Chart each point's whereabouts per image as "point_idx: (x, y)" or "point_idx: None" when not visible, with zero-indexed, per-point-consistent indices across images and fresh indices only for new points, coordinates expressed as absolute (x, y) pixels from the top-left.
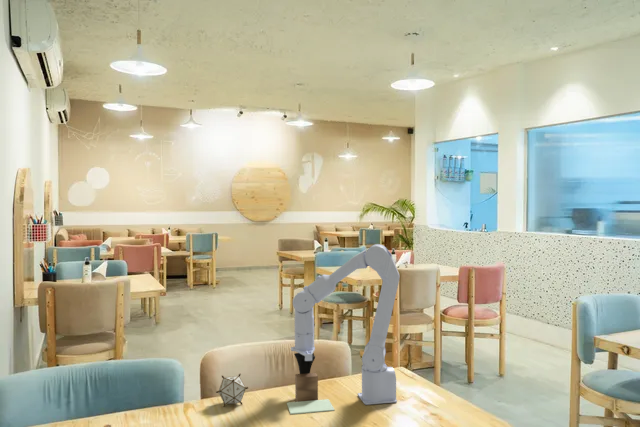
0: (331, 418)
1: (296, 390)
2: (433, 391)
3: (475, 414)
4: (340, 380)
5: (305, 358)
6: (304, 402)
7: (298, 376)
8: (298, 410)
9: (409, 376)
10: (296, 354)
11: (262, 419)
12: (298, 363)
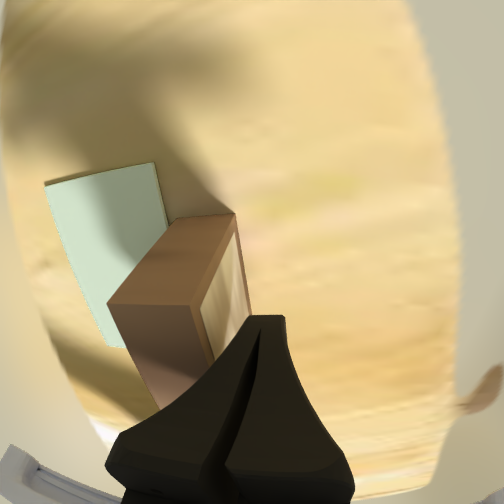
0: (55, 318)
1: (174, 245)
2: None
3: None
4: (420, 405)
5: (2, 460)
6: None
7: (132, 318)
8: (71, 221)
9: (366, 495)
10: (278, 489)
11: (8, 76)
12: (174, 409)
